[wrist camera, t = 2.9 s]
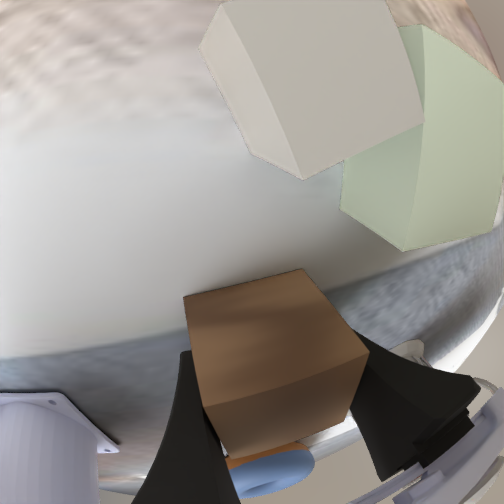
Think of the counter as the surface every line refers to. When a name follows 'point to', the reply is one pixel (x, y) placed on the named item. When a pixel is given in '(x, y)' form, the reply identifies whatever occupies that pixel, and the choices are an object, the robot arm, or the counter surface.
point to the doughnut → (270, 469)
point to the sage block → (434, 154)
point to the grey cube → (311, 78)
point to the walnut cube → (272, 361)
